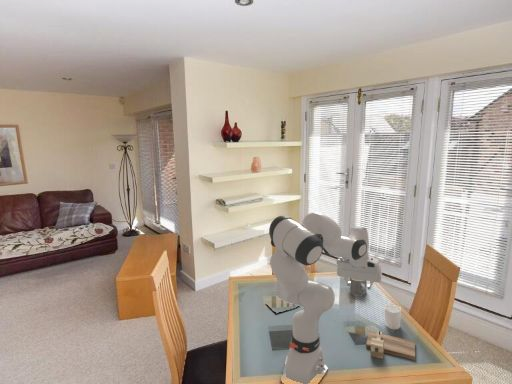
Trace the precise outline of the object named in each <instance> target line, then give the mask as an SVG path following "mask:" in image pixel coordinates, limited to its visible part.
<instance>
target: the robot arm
mask: <svg viewBox="0 0 512 384" xmlns="http://www.w3.org/2000/svg"><path fill="white" fill-rule="evenodd" d="M268 233H269V237H270V245H271V246H272V247H275V251H274V252H273V254H272V255H271V257H270V260H269V266H270V268H271V271H272V273H273V276H274V278H276V280H277V282H276V284H275V290H274V291H275V295H276V297H278V298H279V299H281V300H283V301H285V302H287V303H291V304H295V305H298V306H300V307H302V308H303V309H300V310H298V311H297V312H295V313H294V314H293V316H292V320H291V324H292V327H291V328H292V332H291V339H290V340H291V341H290V343H289V350H288V353H287V354H286V357H285V361H284V364H285V365H286V377H287V378H289V379H291V380H293V381H296V382H300V383H303V384H308V383H310V381H311V380H312V379H313V378H314V377H315V376H316V375H317V374H324V373H325V372H326V371H327V370H328V371H329V367H328V365H326V363H325V355H324V350H323V348H322V347H321V345H320V344H321V338H320V333H319V325H320V323H319V321H320V318H321V316H322V315H323V314H324V313H326V312H328V311H329V310H330V309H331V308H332V307H333V306H334V304H335V300H336V295H335V292H334V289H333V288H332V287H331V286H330V285H327V284H325V283H323V282H319V281H315V280H310V279H309V274H308V272H307V270H306V269H305V267H304V266H311V265H313V264H315V263H317V262H318V261H319V260H320V258H321V257H322V254H323V252H324V253H325V255H327V256H330V257H331V256H332V257H333V256H334V257H336V265H337V266H336V267H337V268H336V275H337V276H338V277H341V278H344V281H345V282H346V286H347V287H350V285H351V282H350V278H353V279H359V280H365V281H366V282H369V283H370V284H367V290H370V291H371V290H372V286H373V284H374V283H381V282H382V279H383V273H382V268H381V266H380V260H379V259H378V258H376V257H373V256H371V255H369V246H370V245H369V244H370V243H369V233H368V229H367V228H366V227H364V226H355V225H354V226H350V227H349V233H348V234H349V235H348V236H342V229H341V227H340V225H339V224H338V223H337V222H336V221H335V220H334V219H332V218H331V217H329V216H327V215H325V214H323V213H320V212H315V211H313V212H310V213H308V214H306V215H305V216H304V218H303V219H302V222H301V224H300V223H299V222H297V221H295V220H294V219H293V218H292V217H289V216H286V215H279V216H277V217H275V218H274V219H273V220H272V221H271V223H270V226H269V230H268ZM303 265H304V266H303ZM323 369H324V370H323Z"/></svg>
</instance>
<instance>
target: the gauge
mask: <svg viewBox="0 0 512 384" xmlns="http://www.w3.org/2000/svg"><path fill="white" fill-rule="evenodd" d="M377 333H378V334H377V339H375V338H372V340H371V349H370V357H374V358H378V359H381V360H383V359H384V353H385V352H384V341H383V340H381V335H382V334H383V331H380V330H377Z"/></svg>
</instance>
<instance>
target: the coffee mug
mask: <svg viewBox="0 0 512 384" xmlns="http://www.w3.org/2000/svg"><path fill="white" fill-rule="evenodd" d="M349 281H350V282H351V285H350V286H349V288H350V289H349V290H350V291H351V292H350V291H349V292H350V294H351V295H353V294H354V296H356V295H357V296H358V297H363V296H366V295H367V290H368V289H367V286H368V284H367V281H365V280H359V279H353V278H349Z"/></svg>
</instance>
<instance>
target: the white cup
mask: <svg viewBox="0 0 512 384" xmlns="http://www.w3.org/2000/svg"><path fill="white" fill-rule="evenodd" d="M383 309H384V320H385V326H386V327H387V328H388V329H390V330H399V329H400V328H401V327H400V326H401V319H402V308H401V307H400V306H398V305H396V304H385V305H384V308H383Z"/></svg>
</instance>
